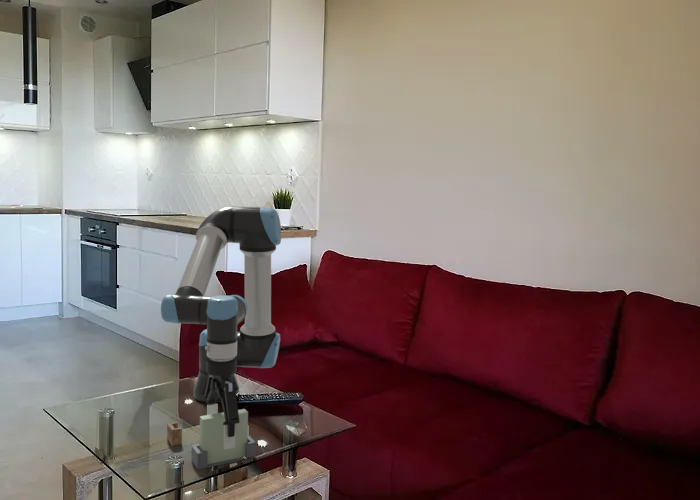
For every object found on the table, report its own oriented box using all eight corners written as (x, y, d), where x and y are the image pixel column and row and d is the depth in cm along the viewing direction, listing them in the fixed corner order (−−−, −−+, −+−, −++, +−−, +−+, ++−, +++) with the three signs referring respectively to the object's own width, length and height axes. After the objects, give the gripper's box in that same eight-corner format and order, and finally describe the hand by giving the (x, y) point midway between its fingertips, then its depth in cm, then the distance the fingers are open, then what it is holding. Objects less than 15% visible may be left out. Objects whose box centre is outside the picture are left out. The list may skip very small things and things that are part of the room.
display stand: (248, 452, 164) (248, 434, 163) (255, 460, 160) (255, 442, 159) (191, 464, 156) (191, 445, 156) (197, 472, 152) (197, 453, 151)
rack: (222, 431, 177) (222, 414, 176) (227, 438, 172) (228, 420, 172) (167, 441, 169) (167, 423, 168) (171, 449, 164) (171, 430, 164)
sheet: (243, 452, 162) (244, 408, 161) (247, 456, 160) (248, 412, 158) (199, 461, 156) (199, 416, 154) (202, 465, 154) (202, 419, 152)
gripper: (192, 346, 163) (192, 422, 165) (223, 373, 142) (222, 460, 144) (219, 343, 167) (218, 417, 169) (254, 369, 145) (252, 454, 148)
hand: (220, 437), depth 157 cm, fingers open, 13 cm apart
